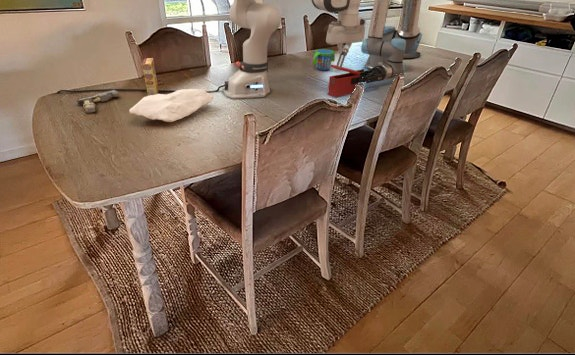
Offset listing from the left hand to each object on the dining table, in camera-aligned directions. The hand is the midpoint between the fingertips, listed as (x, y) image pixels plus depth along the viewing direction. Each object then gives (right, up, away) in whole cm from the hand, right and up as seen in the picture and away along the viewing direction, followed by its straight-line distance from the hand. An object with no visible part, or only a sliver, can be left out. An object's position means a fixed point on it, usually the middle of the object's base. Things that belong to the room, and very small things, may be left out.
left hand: (343, 52), depth 166 cm
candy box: (-87, -19, +1) cm, 89 cm away
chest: (+2, -16, +12) cm, 20 cm away
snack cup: (-5, +6, +46) cm, 46 cm away
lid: (+2, -6, +6) cm, 9 cm away
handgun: (-105, -26, -10) cm, 109 cm away
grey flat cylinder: (+48, +29, +85) cm, 102 cm away
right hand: (+4, -10, +10) cm, 14 cm away
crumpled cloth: (-73, -31, -17) cm, 81 cm away
